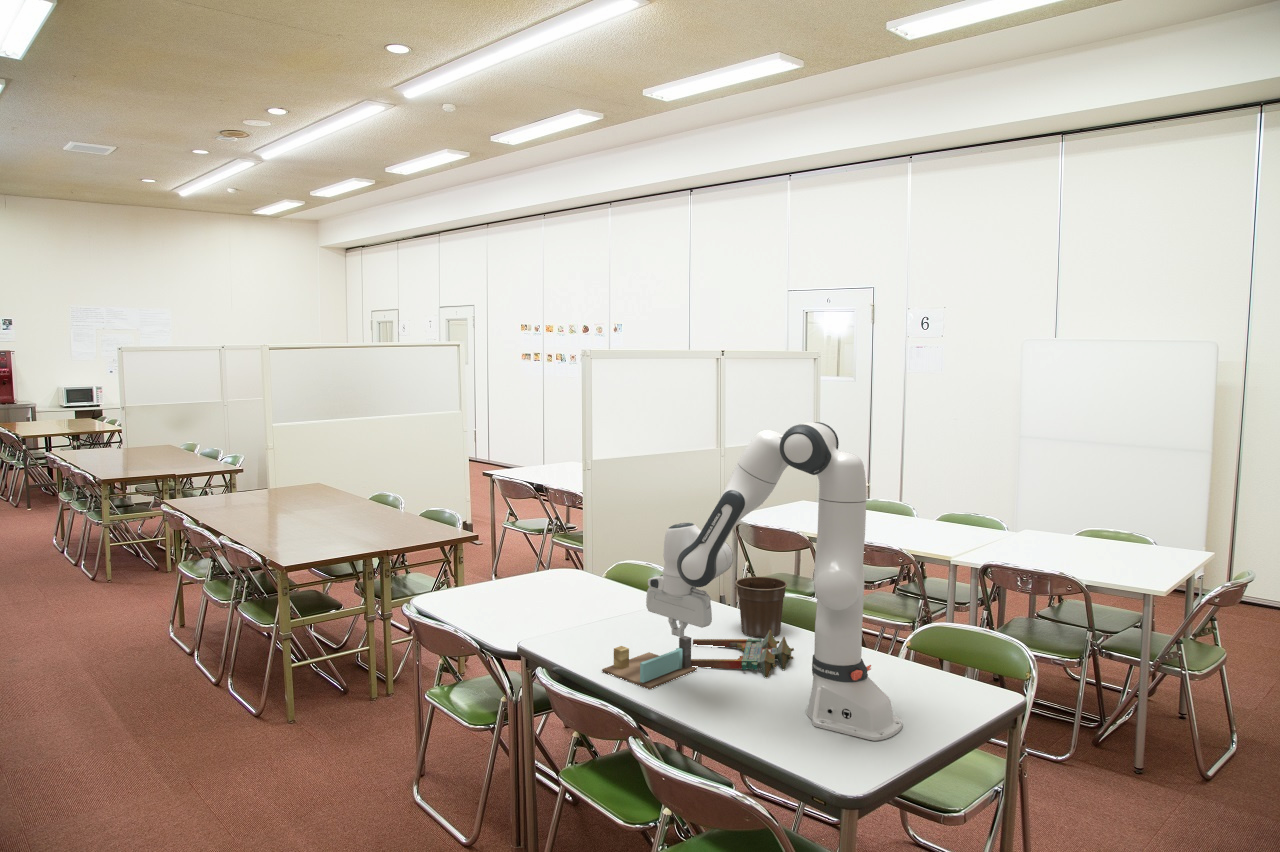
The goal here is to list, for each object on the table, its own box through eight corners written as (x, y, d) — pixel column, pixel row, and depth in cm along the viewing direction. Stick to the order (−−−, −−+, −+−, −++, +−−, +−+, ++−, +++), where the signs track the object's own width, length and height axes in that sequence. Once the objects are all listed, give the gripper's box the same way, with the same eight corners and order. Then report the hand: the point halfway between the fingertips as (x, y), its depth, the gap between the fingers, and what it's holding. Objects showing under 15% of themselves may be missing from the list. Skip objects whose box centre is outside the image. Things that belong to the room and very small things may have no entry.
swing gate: (683, 668, 230) (683, 649, 229) (644, 683, 218) (644, 663, 218) (678, 666, 231) (678, 647, 231) (639, 682, 220) (639, 661, 219)
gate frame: (696, 670, 231) (697, 638, 230) (649, 689, 217) (650, 655, 216) (649, 654, 243) (649, 624, 242) (602, 671, 229) (602, 639, 229)
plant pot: (723, 631, 265) (724, 581, 264) (756, 621, 276) (757, 573, 275) (763, 644, 253) (764, 592, 252) (796, 633, 264) (797, 583, 263)
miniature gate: (694, 629, 256) (794, 629, 250) (696, 647, 256) (795, 647, 250) (681, 659, 230) (791, 660, 224) (682, 679, 230) (793, 680, 224)
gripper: (718, 590, 214) (716, 642, 215) (659, 574, 228) (657, 624, 229) (702, 594, 209) (700, 648, 210) (643, 578, 223) (641, 628, 224)
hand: (677, 635), depth 220 cm, fingers closed
